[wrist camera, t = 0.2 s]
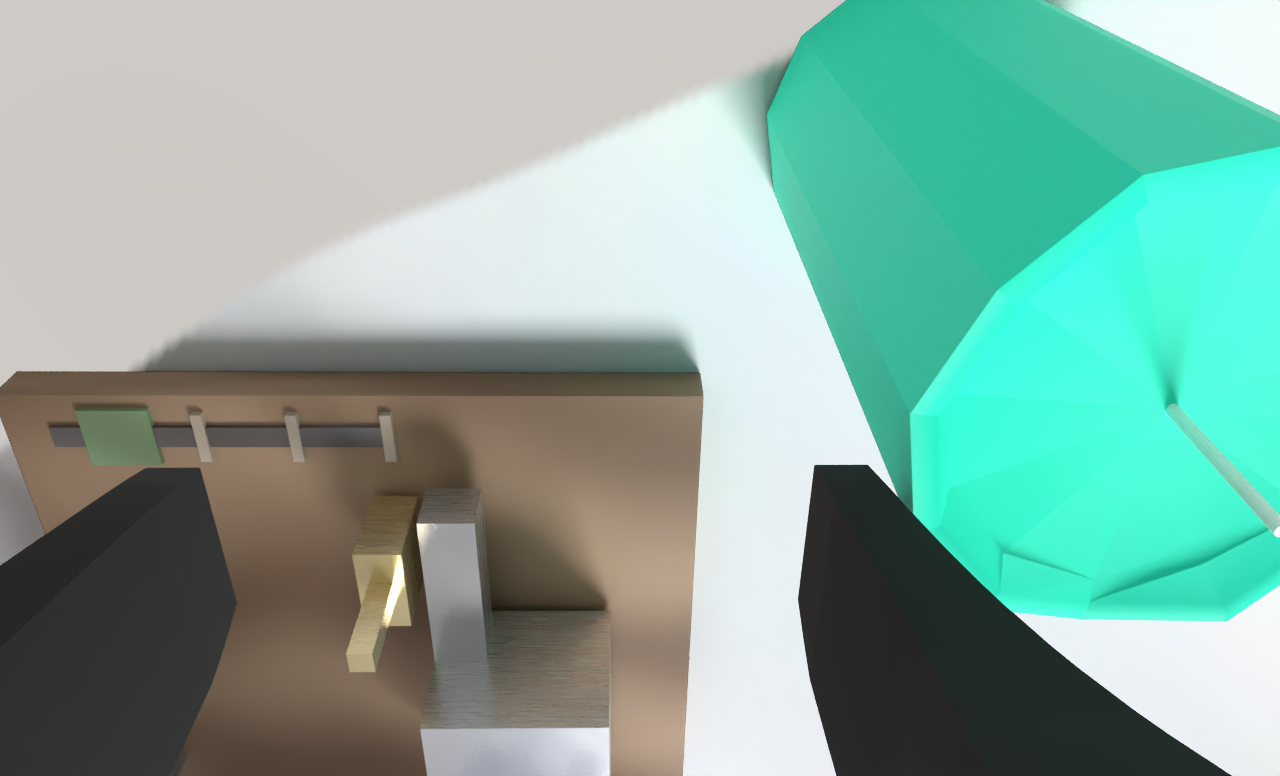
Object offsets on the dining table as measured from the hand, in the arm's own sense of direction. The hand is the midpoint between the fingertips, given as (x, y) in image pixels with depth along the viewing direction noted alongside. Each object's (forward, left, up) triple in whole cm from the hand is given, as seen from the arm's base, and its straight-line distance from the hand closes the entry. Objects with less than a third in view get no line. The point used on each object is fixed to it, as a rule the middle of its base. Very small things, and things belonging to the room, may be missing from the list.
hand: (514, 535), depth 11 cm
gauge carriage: (-10, +1, -9) cm, 13 cm away
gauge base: (-10, +4, -10) cm, 15 cm away
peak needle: (-7, +4, -9) cm, 12 cm away
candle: (+2, -7, -10) cm, 12 cm away
